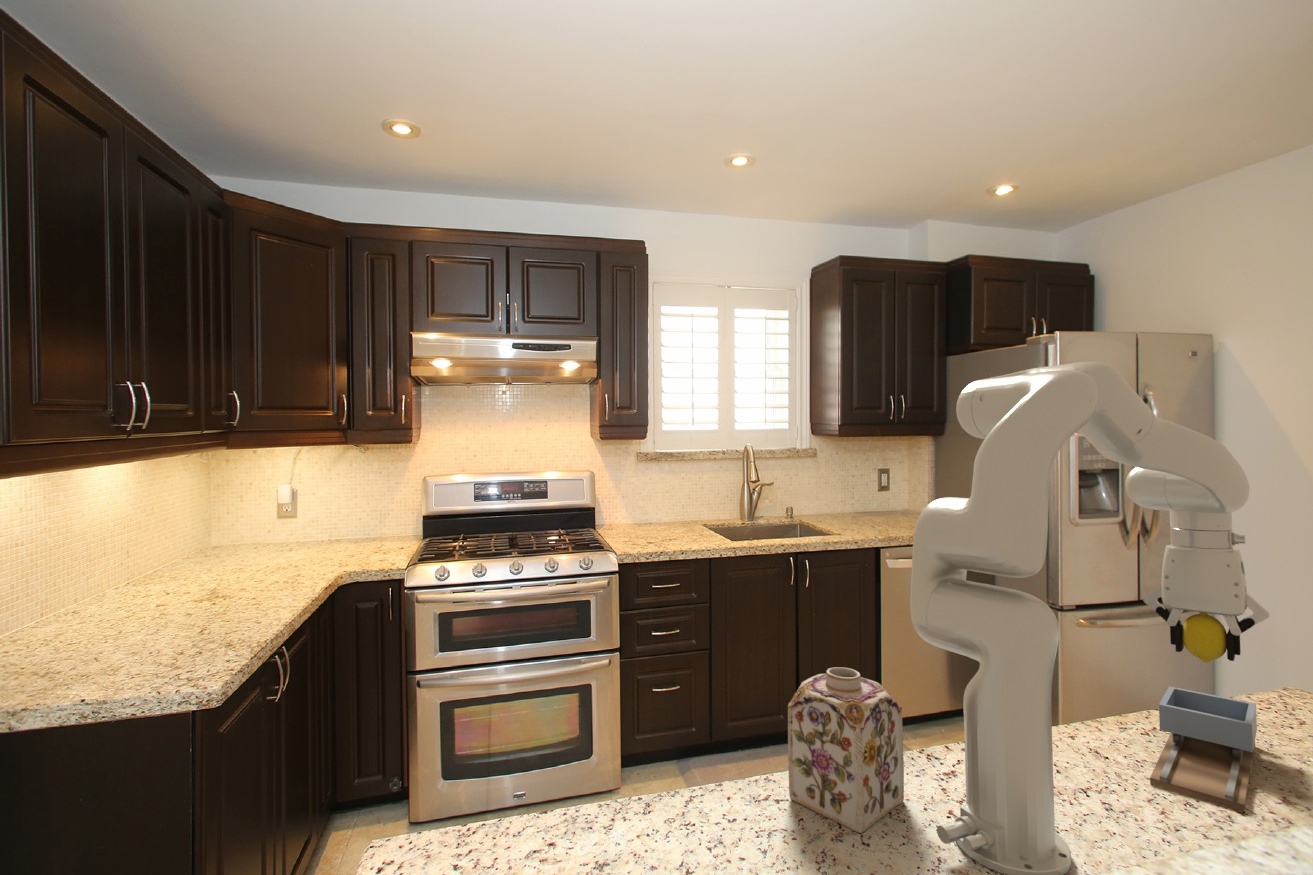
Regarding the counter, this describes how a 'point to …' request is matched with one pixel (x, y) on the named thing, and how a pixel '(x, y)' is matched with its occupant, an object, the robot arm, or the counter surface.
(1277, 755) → the counter surface
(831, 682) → the decorative jar
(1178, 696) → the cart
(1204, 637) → the lemon
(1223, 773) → the track
